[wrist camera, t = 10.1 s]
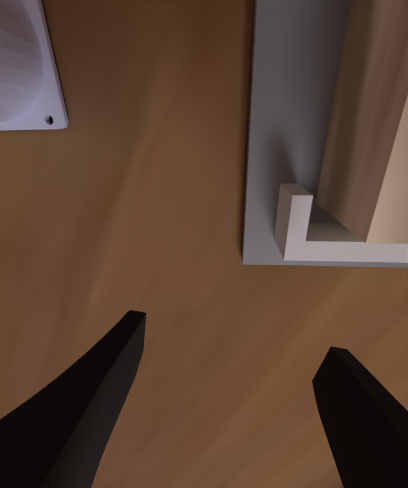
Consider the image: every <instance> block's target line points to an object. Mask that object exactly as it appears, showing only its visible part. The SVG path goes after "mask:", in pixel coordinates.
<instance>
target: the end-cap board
mask: <svg viewBox="0 0 408 488" xmlns="http://www.w3.org/2000/svg"><path fill="white" fill-rule="evenodd" d="M350 1H351V0H255V10H254V29H253V49H252V69H251V88H250V108H249V127H248V147H247V166H246V186H245V205H244V225H243V245H242V262H243V264H255V265H308V266H360V267H408V244H380V243H365V242H363V241H362V240H361V239H360V238H358V237H357V236H356V235H355V234H353V233H352V232H351V231H350V230H348V229H347V228H346V227H345V226H343V225H342V224H341V223H340V222H338V221H337V220H336V219H335V218H333V217H332V216H331V215H330V214H328V213H327V212H326V211H325V210H323V209H322V208H321V207H320V206H318V205H317V204H316V197H317V191H318V186H319V180H320V174H321V168H322V163H323V157H324V151H325V145H326V139H327V134H328V128H329V122H330V116H331V111H332V105H333V99H334V93H335V87H336V82H337V76H338V70H339V64H340V59H341V53H342V47H343V41H344V35H345V30H346V24H347V18H348V12H349V7H350Z"/></svg>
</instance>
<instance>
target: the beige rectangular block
mask: <svg viewBox="0 0 408 488" xmlns="http://www.w3.org/2000/svg"><path fill="white" fill-rule="evenodd" d="M316 204H317V205H318V206H320V207H321V208H322V209H323V210H325V211H326V212H327V213H328V214H330V215H331V216H332V217H333V218H335V219H336V220H337V221H338V222H340V223H341V224H342V225H343V226H345V227H346V228H347V229H348V230H350V231H351V232H352V233H353V234H355V235H356V236H357V237H358V238H360V239H361V240H362V241H363V242H365V243H380V244H408V0H351V1H350V7H349V12H348V18H347V24H346V30H345V35H344V41H343V47H342V53H341V59H340V64H339V70H338V76H337V82H336V87H335V93H334V99H333V105H332V111H331V116H330V122H329V128H328V134H327V139H326V145H325V151H324V157H323V163H322V168H321V174H320V180H319V186H318V191H317V197H316Z"/></svg>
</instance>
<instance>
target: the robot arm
mask: <svg viewBox="0 0 408 488" xmlns="http://www.w3.org/2000/svg"><path fill="white" fill-rule="evenodd" d="M50 116H51V117H52V118H53V124H51V123H50V121H49V117H50ZM67 126H68V117H67V112H66V108H65V104H64V99H63V95H62V90H61V86H60V81H59V77H58V73H57V68H56V64H55V59H54V55H53V51H52V46H51V42H50V37H49V33H48V29H47V24H46V20H45V15H44V11H43V6H42V2H41V0H0V130H36V129H64V128H66V127H67ZM145 323H146V313H144V312H139V311H133V310H130V311H128V312H127V313H126V314H125V315H124V316H123V318H122V319H121V320H120V321H119V322H118V323H117V324H116V325H115V326H114V327H113V328H112V329H111V330H110V331H109V332H108V333H107V334H106V335H105V336H104V337H103V338H102V339H101V340H99V341H98V342H97V343H96V344H95V345H94V346H93V347H92V348H91V349H90V350H89V351H88V352H87V353H85V354H84V355H83V356H82V357H81V358H80V359H78V360H77V361H76V362H75V363H74V364H73V365H71V366H70V367H69V368H68V369H67V370H66V371H64V372H63V373H62V374H61V375H60V376H58V377H57V378H56V379H55V380H53V381H52V382H51V383H50V384H48V385H47V386H46V387H44V388H43V389H42V390H40V391H39V392H38V393H36V394H35V395H34V396H32V397H31V398H30V399H28V400H27V401H26V402H24V403H23V404H21V405H20V406H19V407H17V408H16V409H14V410H13V411H11V412H10V413H9V414H7V415H6V416H4V417H3V418H1V419H0V488H91V486H92V483H93V480H94V477H95V475H96V472H97V469H98V466H99V463H100V460H101V457H102V455H103V452H104V450H105V447H106V444H107V442H108V440H109V437H110V435H111V433H112V430H113V428H114V426H115V423H116V421H117V419H118V416H119V414H120V412H121V409H122V407H123V404H124V402H125V400H126V397H127V395H128V393H129V390H130V388H131V386H132V383H133V381H134V378H135V375H136V372H137V369H138V366H139V363H140V360H141V356H142V353H143V348H144V335H145ZM312 383H313V388H314V394H315V399H316V403H317V407H318V412H319V415H320V418H321V421H322V424H323V427H324V430H325V433H326V436H327V439H328V442H329V445H330V448H331V451H332V454H333V457H334V460H335V463H336V466H337V469H338V472H339V475H340V478H341V481H342V484H343V487H344V488H408V411H407V410H406V409H405V408H404V407H403V406H402V405H401V404H400V403H399V402H398V401H397V400H396V399H395V398H394V397H393V396H392V395H391V394H390V393H389V392H388V391H387V390H386V389H385V388H384V387H383V386H382V384H381V383H380V382H379V381H378V380H377V379H376V378H375V377H374V376H373V375H372V374H371V373H370V372H369V371H368V370H367V369H366V368H365V367H364V366H363V365H362V364H361V363H360V362H359V361H358V360H357V359H356V358H355V357H354V356H353V355H352V354H351V353H350V352H349V351H348V350H347V349H343V348H337V347H332V346H331V347H330V349H329V351H328V353H327V355H326V356H325V358H324V360H323V362H322V364H321V366H320V368H319V369H318V371H317V373H316V375H315V377H314V379H313V380H312Z"/></svg>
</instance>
